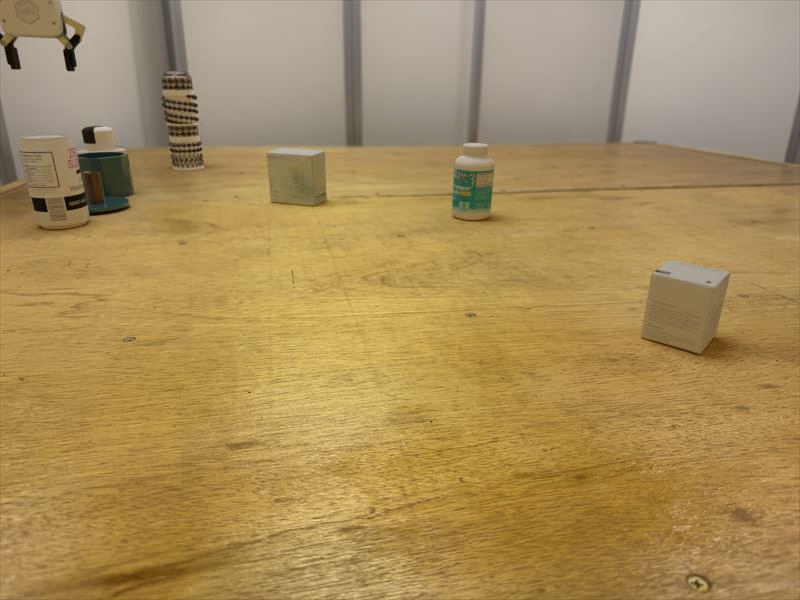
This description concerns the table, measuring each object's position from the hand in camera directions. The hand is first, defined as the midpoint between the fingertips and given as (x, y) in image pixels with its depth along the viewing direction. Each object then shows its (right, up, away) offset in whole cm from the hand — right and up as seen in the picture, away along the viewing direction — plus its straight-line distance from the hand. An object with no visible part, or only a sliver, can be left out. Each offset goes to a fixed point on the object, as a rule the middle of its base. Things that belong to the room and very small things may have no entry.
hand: (43, 70), depth 108 cm
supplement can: (+11, -32, -11) cm, 36 cm away
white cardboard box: (+100, -49, -50) cm, 122 cm away
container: (0, -17, +24) cm, 30 cm away
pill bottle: (+84, -29, -2) cm, 89 cm away
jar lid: (+11, -27, 0) cm, 29 cm away
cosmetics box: (+49, -25, +8) cm, 55 cm away
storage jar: (+6, -22, +12) cm, 26 cm away
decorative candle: (+11, -9, +45) cm, 48 cm away
